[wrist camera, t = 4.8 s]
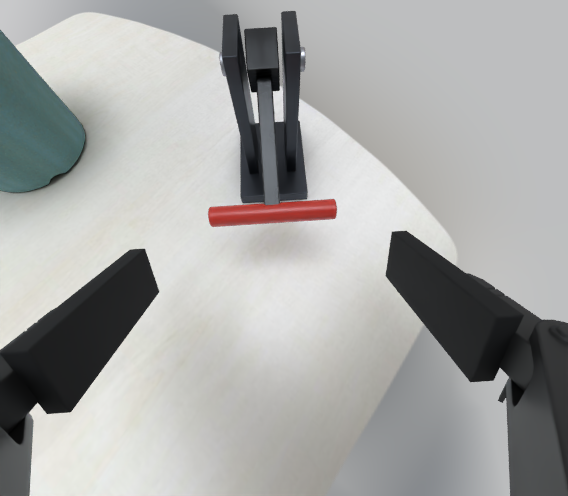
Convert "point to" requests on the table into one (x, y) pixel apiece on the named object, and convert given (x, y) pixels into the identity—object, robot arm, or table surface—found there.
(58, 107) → the flower pot
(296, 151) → the bracket
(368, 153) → the table surface
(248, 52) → the lever
